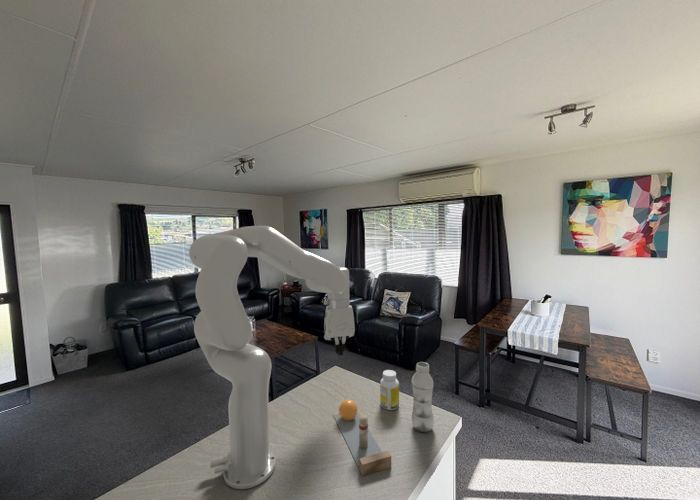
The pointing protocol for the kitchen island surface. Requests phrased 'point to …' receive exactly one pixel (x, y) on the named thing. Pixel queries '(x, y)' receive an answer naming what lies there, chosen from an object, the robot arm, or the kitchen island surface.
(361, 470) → the back wall
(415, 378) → the plastic bottle
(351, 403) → the ball
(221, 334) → the robot arm
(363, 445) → the pin
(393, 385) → the pill bottle
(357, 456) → the plate
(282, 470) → the kitchen island surface
